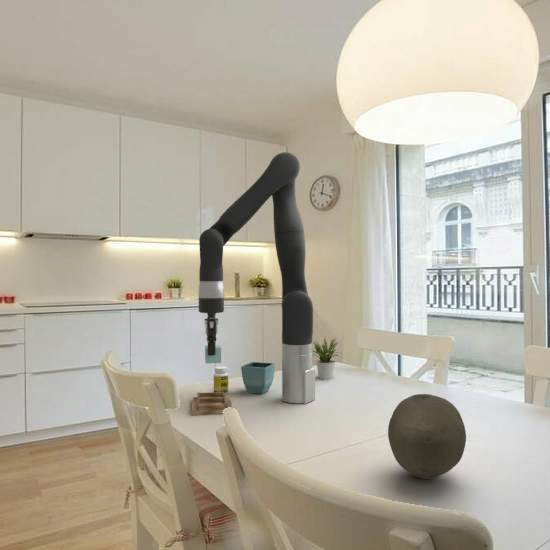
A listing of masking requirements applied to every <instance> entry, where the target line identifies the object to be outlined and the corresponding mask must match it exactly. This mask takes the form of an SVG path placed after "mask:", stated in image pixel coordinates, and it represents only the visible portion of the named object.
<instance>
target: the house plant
mask: <svg viewBox="0 0 550 550" xmlns="http://www.w3.org/2000/svg"><path fill="white" fill-rule="evenodd" d="M338 338H339V336H338V337H335V338H333V339H332V340H331V341H330V344H329V346H328V342H327V340H326V336H325V335H323V337H321V340H322V342H323V343H322V344H321V345H320V343H319V342H318V341H317V340H315V338H312V344H314V349H315V350H312V353H315V354H314V356H316V357H317V358H318V359H319V360H316V369H317V374H318V379H319V378H320V379H319V380H325V379H327V380H333V379H334V372H335V366H336V361H335V360H332V358H333V357H340V355H339V354H341V352H338V351H337V352H336V350H337V348H336V346H337V345H338V344H339V343H340V342H342V341H343V339H340V340H339V341H337V339H338ZM316 354H317V355H316ZM341 355H342V354H341Z"/></svg>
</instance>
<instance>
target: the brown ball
mask: <svg viewBox="0 0 550 550" xmlns="http://www.w3.org/2000/svg"><path fill="white" fill-rule="evenodd" d="M387 437H388V441H389V447H390V450H391V451H392V455H393V457H394V458H395V461H396V463H398V465H399V466H400V467H401V468H402V469H403V470H405V471H406V472H408V473H409V474H410V475H412V476H414V477H415V478H421V479H435V478H439V477H440V476H443V475H445V474H446V473H448V472H450V471H451V470H452V469H453V468H455V467H456V466H457V465H458V464H459V463H460V461H461V460H462V457H463V454H464V452H465V448H466V443H467V432H466V427H465V423H464V421H463V417H462V416H461V413H460V411H459V410H458V409H457V407H456V406H455V405H454V404H453V403H451V402H450V400H448V399H445V398H443V397H441V396H437V395H433V394H429V393H418V394H412V395H410V396H408V397H407V398H404V399H403V400H401V401H400V402H399V403H398V404H397V406H396V407H395V408H394V411H393V412H392V414H391V417H390V420H389V422H388V427H387Z"/></svg>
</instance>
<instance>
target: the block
mask: <svg viewBox="0 0 550 550" xmlns="http://www.w3.org/2000/svg"><path fill="white" fill-rule="evenodd" d="M204 356H205V357H204V360H205V361H204V362H205V364H222V345H220V344H215V355H208V345H205V346H204Z"/></svg>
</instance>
